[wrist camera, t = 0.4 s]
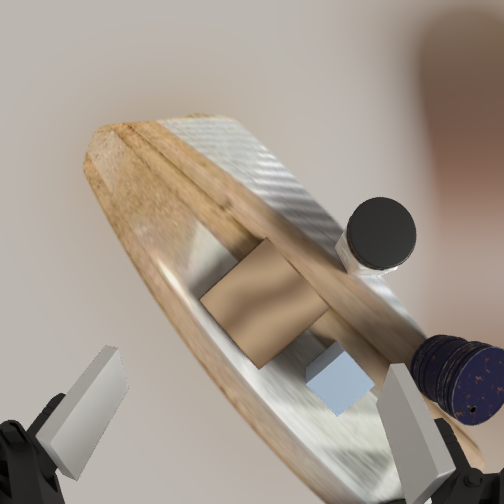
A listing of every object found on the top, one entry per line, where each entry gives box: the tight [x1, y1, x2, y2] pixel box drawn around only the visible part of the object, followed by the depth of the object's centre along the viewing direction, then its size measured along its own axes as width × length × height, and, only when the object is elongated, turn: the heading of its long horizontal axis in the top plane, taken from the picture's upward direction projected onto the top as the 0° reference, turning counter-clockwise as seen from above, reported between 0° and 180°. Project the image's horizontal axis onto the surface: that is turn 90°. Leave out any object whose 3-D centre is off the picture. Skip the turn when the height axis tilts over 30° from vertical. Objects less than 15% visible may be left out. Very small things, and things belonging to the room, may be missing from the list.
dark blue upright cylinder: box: [410, 335, 504, 426], centre depth 30 cm, size 10×10×15 cm
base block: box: [198, 237, 331, 369], centre depth 42 cm, size 13×13×4 cm
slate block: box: [305, 340, 375, 416], centre depth 36 cm, size 6×6×9 cm
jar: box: [335, 197, 416, 276], centre depth 37 cm, size 9×8×12 cm
